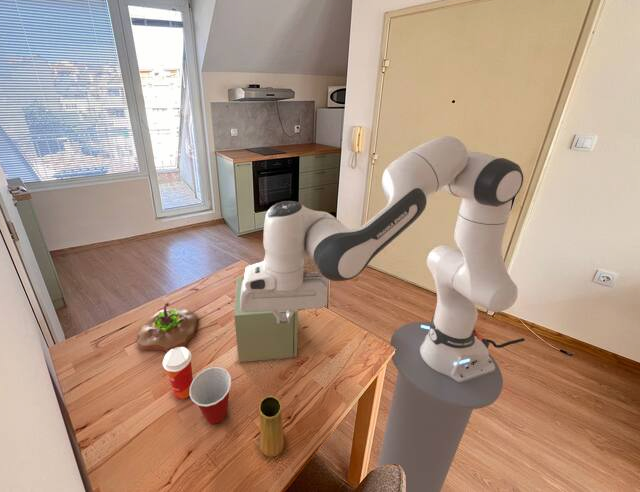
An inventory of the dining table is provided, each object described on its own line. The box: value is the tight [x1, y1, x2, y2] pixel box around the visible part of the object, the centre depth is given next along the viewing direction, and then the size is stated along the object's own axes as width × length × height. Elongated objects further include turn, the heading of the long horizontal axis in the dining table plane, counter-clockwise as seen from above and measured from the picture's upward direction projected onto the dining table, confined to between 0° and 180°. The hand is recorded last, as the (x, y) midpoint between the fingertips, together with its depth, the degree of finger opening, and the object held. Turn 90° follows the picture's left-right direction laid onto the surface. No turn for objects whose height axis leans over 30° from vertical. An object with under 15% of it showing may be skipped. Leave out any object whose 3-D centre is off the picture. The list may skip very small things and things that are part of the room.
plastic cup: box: [189, 366, 232, 425], centre depth 78 cm, size 11×11×12 cm
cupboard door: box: [293, 309, 306, 358], centre depth 102 cm, size 7×20×19 cm, turn 5°
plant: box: [136, 301, 199, 353], centre depth 106 cm, size 20×20×11 cm
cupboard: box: [233, 276, 294, 363], centre depth 101 cm, size 18×20×20 cm
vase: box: [258, 395, 285, 458], centre depth 71 cm, size 6×6×14 cm
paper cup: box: [162, 346, 194, 400], centre depth 84 cm, size 8×8×14 cm
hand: (283, 321), depth 71 cm, fingers closed
